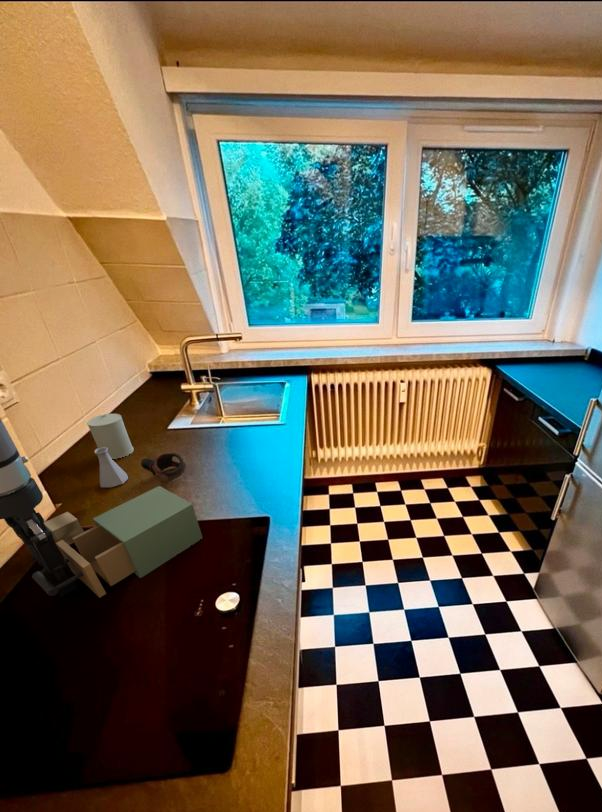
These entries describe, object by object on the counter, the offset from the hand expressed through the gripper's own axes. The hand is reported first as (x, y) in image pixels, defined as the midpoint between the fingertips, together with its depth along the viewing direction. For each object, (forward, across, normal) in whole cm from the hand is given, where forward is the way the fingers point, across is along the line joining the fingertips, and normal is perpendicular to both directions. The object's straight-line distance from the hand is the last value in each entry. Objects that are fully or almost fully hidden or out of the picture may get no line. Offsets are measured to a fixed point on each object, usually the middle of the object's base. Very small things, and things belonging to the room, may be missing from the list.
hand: (67, 590), depth 73 cm
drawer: (+1, 0, -7) cm, 7 cm away
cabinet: (+2, 0, -17) cm, 17 cm away
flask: (+2, +35, -26) cm, 43 cm away
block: (+2, +19, -8) cm, 20 cm away
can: (+2, +50, -35) cm, 61 cm away
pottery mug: (+2, +24, -36) cm, 43 cm away
